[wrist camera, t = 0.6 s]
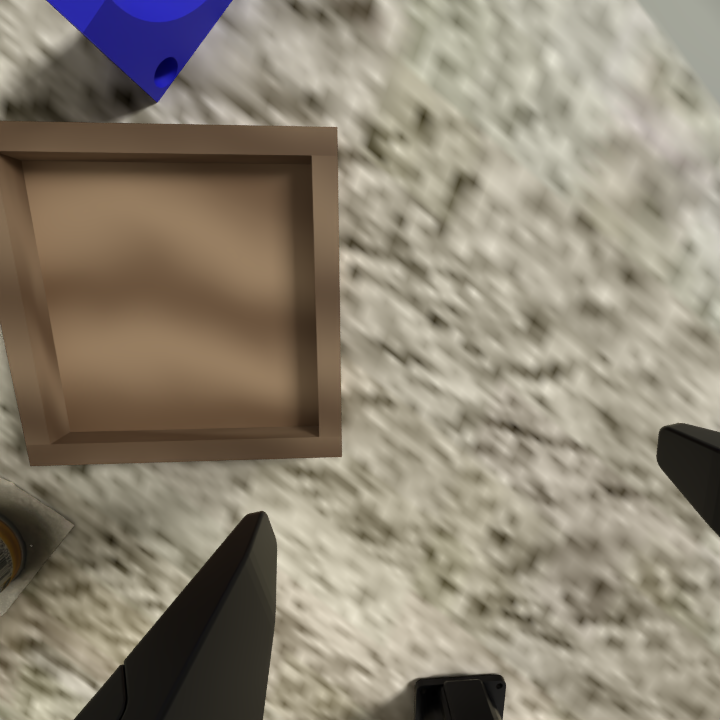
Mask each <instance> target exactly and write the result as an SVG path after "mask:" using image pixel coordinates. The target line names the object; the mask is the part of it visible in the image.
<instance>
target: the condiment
mask: <svg viewBox="0 0 720 720" xmlns="http://www.w3.org/2000/svg"><path fill="white" fill-rule="evenodd" d="M73 526H74V525H73V524H72V523H71V522H69V521H68V520H66V519H64V518H63V517H62V515H61V514H59V513H57V512H55V511H54V510H53V509H51V508H49V507H48V506H46V505H45V504H43V503H41V502H40V501H39V500H38V499H36V498H35V497H33V496H31V495H30V494H28V493H26V492H25V491H23V490H21V489H19V488H18V487H16V486H15V484H14V483H12V482H9V481H7V480H5V479H2V478H1V477H0V615H1V616H3V615H4V613H5V612H6V611H7V610H8V608H9V607H10V606H11V605H12V603H13V602H14V601H15V600H16V599H17V597H18V596H19V595H20V593H21V592H22V591H23V590H24V588H25V587H26V586H27V585H28V584H29V582H30V581H31V580H32V578H33V577H34V576H35V575H36V573H37V572H38V571H39V570H40V568H41V567H42V565H43V564H44V563H45V561H46V560H47V559H48V558H49V557H50V556H51V554H52V553H53V552H54V551H55V549H56V548H57V547H58V546H59V544H60V543H61V542H62V540H63V539H64V538H65V536H66V535H67V534H68V533H69V531H70V530H71V529H72V528H73ZM30 545H33V546H32V547H31V546H30Z"/></svg>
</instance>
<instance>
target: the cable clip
mask: <svg viewBox="0 0 720 720" xmlns="http://www.w3.org/2000/svg"><path fill="white" fill-rule="evenodd" d="M46 1H47V2H49V3H50V4H51V5H52V6H53V7H54V8H55V9H56V10H57V11H58V12H59V13H60V14H61V15H63V16H64V17H65V18H66V19H67V20H68V21H69V22H70V23H71V24H72V25H73V26H74V27H75V28H76V29H78V30H79V31H80V32H81V33H82V34H83V35H84V36H85V37H86V38H87V39H88V40H89V41H90V42H92V43H93V44H94V45H95V46H96V47H97V48H98V49H99V50H100V51H101V52H102V53H103V54H104V55H106V56H107V57H108V58H109V59H110V60H111V61H112V62H113V63H114V64H115V65H117V66H118V67H119V68H120V69H121V70H122V71H123V72H124V73H125V74H126V75H127V76H129V77H130V78H131V79H132V80H133V81H134V82H135V83H136V84H137V85H138V86H140V87H141V88H142V89H143V90H144V91H145V92H146V93H147V94H148V95H149V96H151V97H152V98H153V99H154V100H155V101H156V102H158V101H159V100H160V98H161V97H162V96H163V94H164V93H165V92H166V90H167V89H168V87H169V86H170V85H171V83H172V82H173V81H174V79H175V78H176V77H177V75H178V74H179V72H180V71H181V70H182V68H183V67H184V66H185V64H186V63H187V62H188V60H189V59H190V57H191V56H192V55H193V53H194V52H195V51H196V49H197V48H198V47H199V45H200V44H201V42H202V41H203V40H204V38H205V37H206V36H207V34H208V33H209V32H210V30H211V29H212V27H213V26H214V25H215V23H216V22H217V21H218V19H219V18H220V17H221V15H222V14H223V13H224V11H225V10H226V8H227V7H228V6H229V4H230V3H231V2H232V0H46Z"/></svg>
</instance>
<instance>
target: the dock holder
mask: <svg viewBox="0 0 720 720" xmlns="http://www.w3.org/2000/svg"><path fill="white" fill-rule="evenodd" d="M0 323H1V328H2V333H3V338H4V342H5V347H6V352H7V357H8V361H9V366H10V371H11V376H12V380H13V385H14V390H15V395H16V400H17V404H18V409H19V414H20V419H21V423H22V428H23V433H24V438H25V442H26V447H27V452H28V457H29V462H30V466H51V465H84V464H118V463H152V462H185V461H219V460H253V459H286V458H320V457H342V433H341V361H340V288H339V216H338V144H337V127H302V126H249V125H195V124H141V123H87V122H33V121H0Z"/></svg>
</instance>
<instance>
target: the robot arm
mask: <svg viewBox="0 0 720 720" xmlns="http://www.w3.org/2000/svg"><path fill="white" fill-rule="evenodd" d="M656 458H657V462H658V464H659V466H660V468H661V469H662V470H663V472H664V473H665V474H666V475H667V476H668V478H669V479H670V480H671V481H672V482H673V483H674V485H675V486H676V487H677V488H678V489H679V491H680V492H681V493H682V494H683V495H684V497H685V498H686V499H687V500H688V501H689V503H690V504H691V505H692V506H693V507H694V509H695V510H696V511H697V512H698V513H699V515H700V516H701V517H702V518H703V519H704V520H705V522H706V523H707V524H708V525H709V526H710V527H711V528H712V529H713V530H714V532H715V533H716V534H717V535H718V536H719V537H720V432H717V431H713V430H709V429H705V428H701V427H697V426H693V425H689V424H685V423H677V424H672V425H667V426H664V427H662V428H661V429H660V431H659V436H658V445H657V455H656ZM276 574H277V542H276V538H275V535H274V532H273V529H272V527H271V524H270V521H269V518H268V516H267V514H266V513H265V512H264V511H260V512H255V513H250V514H247V515H246V516H245V517H244V518H243V519H242V520H241V521H240V523H239V524H238V525H237V526H236V527H235V529H234V530H233V531H232V532H231V533H230V535H229V536H228V537H227V538H226V539H225V541H224V542H223V543H222V544H221V545H220V546H219V548H218V549H217V550H216V551H215V552H214V554H213V555H212V556H211V557H210V558H209V560H208V561H207V562H206V563H205V564H204V566H203V567H202V568H201V569H200V570H199V572H198V573H197V574H196V575H195V576H194V578H193V579H192V580H191V581H190V582H189V584H188V585H187V586H186V587H185V588H184V590H183V591H182V592H181V593H180V594H179V596H178V597H177V598H176V599H175V600H174V602H173V603H172V604H171V605H170V606H169V607H168V609H167V610H166V611H165V612H164V613H163V615H162V616H161V617H160V618H159V619H158V621H157V622H156V623H155V624H154V625H153V627H152V628H151V629H150V630H149V631H148V633H147V634H146V635H145V636H144V637H143V639H142V640H141V641H140V642H139V643H138V645H137V646H136V647H135V648H134V649H133V651H132V652H131V653H130V654H129V655H128V657H127V658H126V659H125V660H124V665H120V666H119V667H118V668H117V669H116V671H115V672H114V673H113V674H112V675H111V677H110V678H109V679H108V680H107V681H106V683H105V684H104V685H103V686H102V687H101V689H100V690H99V691H98V692H97V693H96V694H95V696H94V697H93V698H92V699H91V700H90V701H89V702H88V704H87V705H86V706H85V707H84V708H83V709H82V711H81V712H80V713H79V714H78V715H77V716H76V718H75V719H74V720H263V713H264V706H265V698H266V690H267V682H268V674H269V667H270V659H271V651H272V643H273V636H274V627H275V613H276ZM505 691H506V683H505V681H504V678H503V677H502V676H501V675H489V676H474V677H458V678H442V679H426V680H419V681H418V682H417V683H416V685H415V705H414V720H503V710H504V701H505Z"/></svg>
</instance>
